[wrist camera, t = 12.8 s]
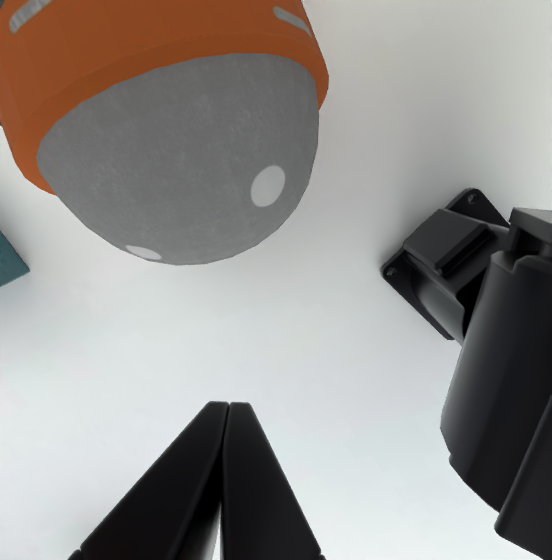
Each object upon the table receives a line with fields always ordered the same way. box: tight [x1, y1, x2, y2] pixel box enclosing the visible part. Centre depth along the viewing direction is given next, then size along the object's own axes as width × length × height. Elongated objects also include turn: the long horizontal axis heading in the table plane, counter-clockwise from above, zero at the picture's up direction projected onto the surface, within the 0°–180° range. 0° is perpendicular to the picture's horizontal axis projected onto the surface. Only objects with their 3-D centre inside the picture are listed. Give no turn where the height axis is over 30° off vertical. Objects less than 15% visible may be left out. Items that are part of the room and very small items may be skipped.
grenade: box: [0, 0, 329, 265], centre depth 12 cm, size 11×10×15 cm
